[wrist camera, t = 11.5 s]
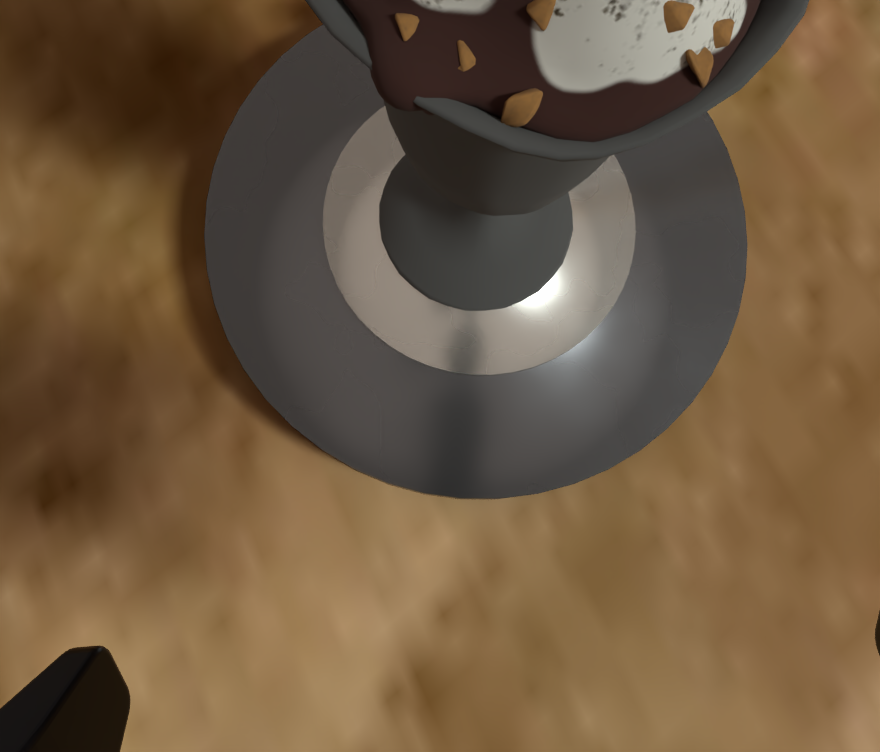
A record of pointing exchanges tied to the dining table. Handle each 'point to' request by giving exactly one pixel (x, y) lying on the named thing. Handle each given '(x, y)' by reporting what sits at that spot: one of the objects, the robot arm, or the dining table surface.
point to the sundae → (531, 116)
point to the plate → (454, 330)
